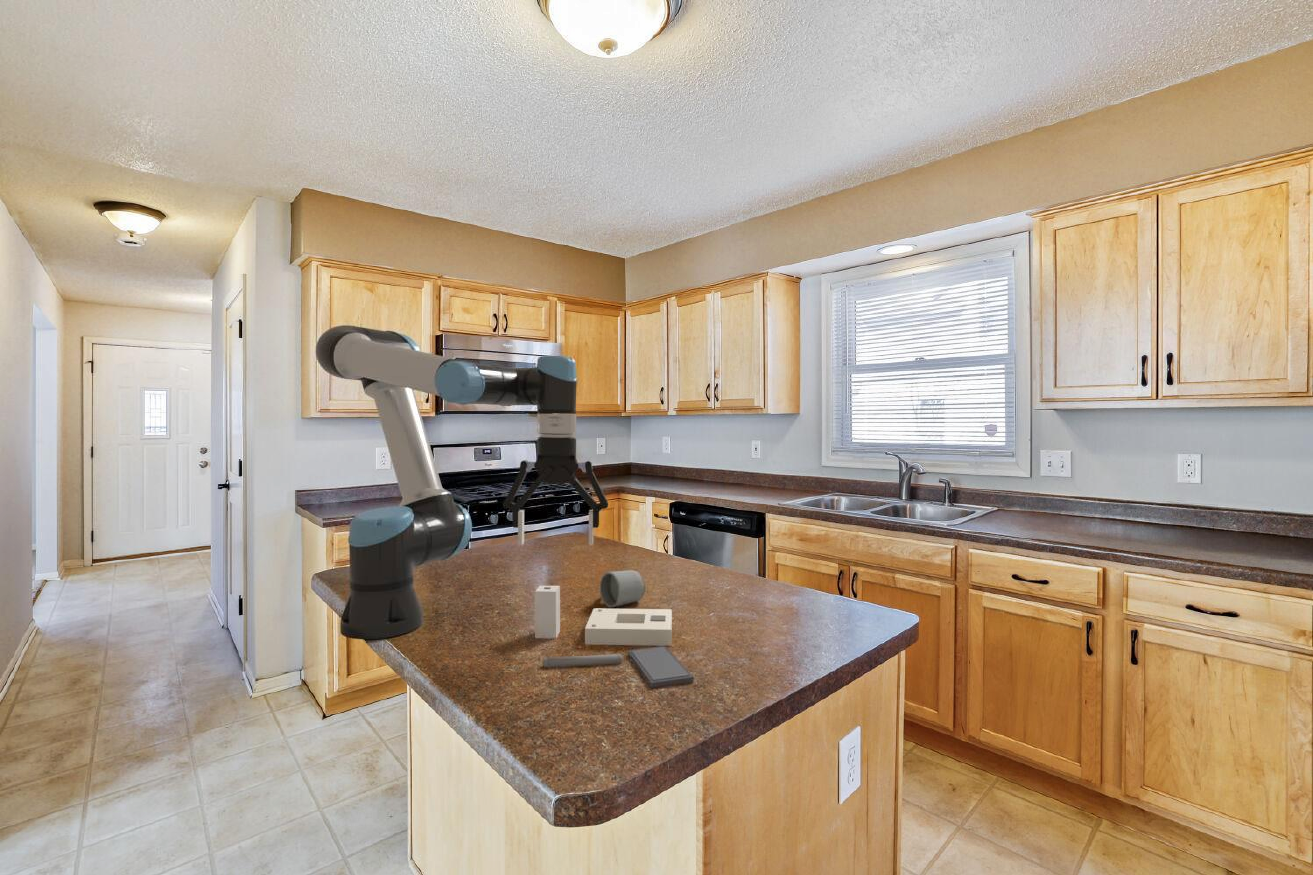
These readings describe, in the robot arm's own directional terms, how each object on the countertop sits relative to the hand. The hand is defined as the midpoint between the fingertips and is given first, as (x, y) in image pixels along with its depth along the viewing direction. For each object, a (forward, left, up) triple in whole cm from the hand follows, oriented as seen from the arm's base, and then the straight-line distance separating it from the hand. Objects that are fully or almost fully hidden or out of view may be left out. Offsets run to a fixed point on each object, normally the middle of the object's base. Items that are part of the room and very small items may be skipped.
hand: (556, 544), depth 120 cm
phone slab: (+21, -17, -17) cm, 32 cm away
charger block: (-1, -2, -17) cm, 17 cm away
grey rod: (+8, -16, -17) cm, 25 cm away
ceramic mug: (+10, +19, -18) cm, 28 cm away
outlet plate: (+15, -1, -17) cm, 23 cm away
